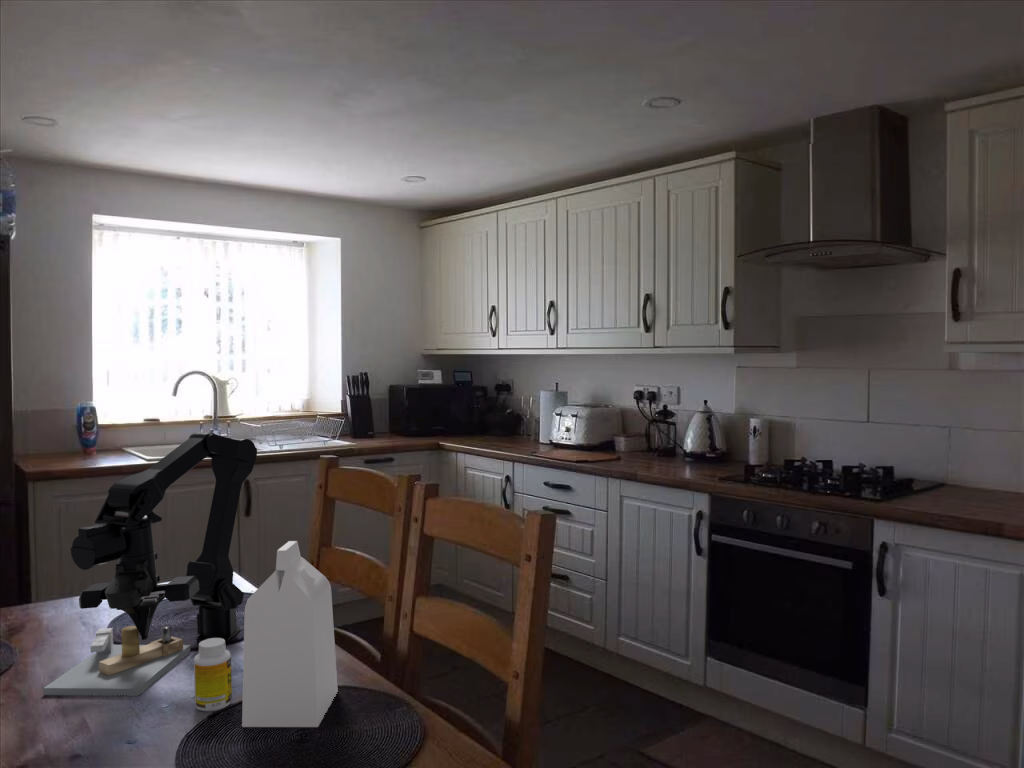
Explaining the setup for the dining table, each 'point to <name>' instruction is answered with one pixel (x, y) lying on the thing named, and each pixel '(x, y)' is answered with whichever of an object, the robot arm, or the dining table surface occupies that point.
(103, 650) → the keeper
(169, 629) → the peg
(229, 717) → the dining table surface
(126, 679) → the board
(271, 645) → the milk
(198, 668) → the supplement bottle
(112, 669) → the latch bar
